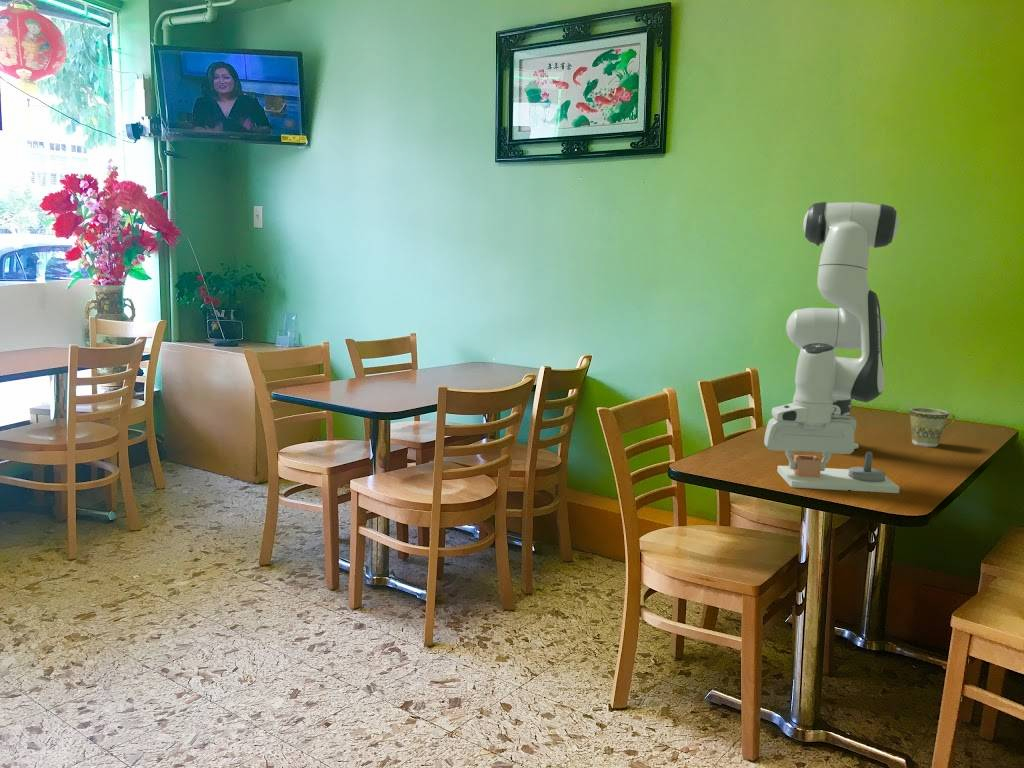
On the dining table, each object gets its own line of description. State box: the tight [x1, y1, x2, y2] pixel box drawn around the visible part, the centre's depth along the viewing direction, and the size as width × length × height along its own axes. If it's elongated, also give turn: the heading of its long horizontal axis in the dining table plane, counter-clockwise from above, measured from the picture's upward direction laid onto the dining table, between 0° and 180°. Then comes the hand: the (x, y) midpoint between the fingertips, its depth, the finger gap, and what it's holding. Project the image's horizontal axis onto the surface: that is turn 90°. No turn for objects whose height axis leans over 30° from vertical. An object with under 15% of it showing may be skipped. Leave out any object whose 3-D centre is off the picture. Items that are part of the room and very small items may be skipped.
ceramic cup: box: [909, 407, 956, 448], centre depth 236 cm, size 13×10×10 cm
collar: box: [793, 454, 822, 478], centre depth 193 cm, size 5×5×4 cm
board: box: [776, 451, 901, 494], centre depth 193 cm, size 14×24×8 cm, turn 85°
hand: (806, 469), depth 193 cm, fingers closed on collar, 5 cm apart
